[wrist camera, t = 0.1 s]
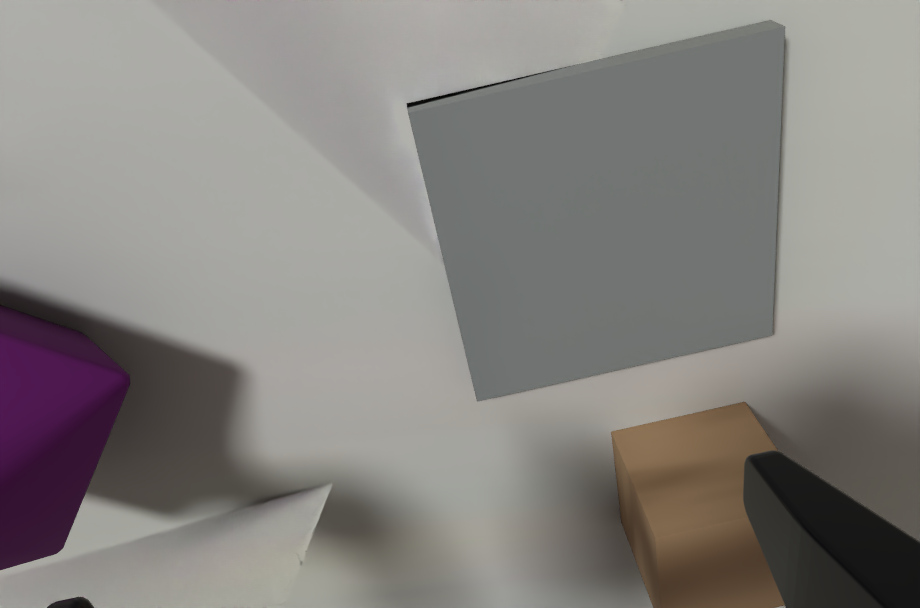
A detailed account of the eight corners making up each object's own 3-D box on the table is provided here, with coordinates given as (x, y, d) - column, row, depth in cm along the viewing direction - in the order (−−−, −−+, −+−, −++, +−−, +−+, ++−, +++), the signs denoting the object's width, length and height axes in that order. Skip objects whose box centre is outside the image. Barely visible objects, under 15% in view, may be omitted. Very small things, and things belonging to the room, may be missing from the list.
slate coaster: (761, 322, 25) (772, 335, 25) (474, 386, 25) (477, 401, 25) (770, 20, 20) (784, 26, 19) (406, 103, 20) (408, 112, 19)
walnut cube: (742, 493, 30) (804, 600, 26) (620, 520, 30) (662, 631, 26) (743, 400, 27) (813, 502, 23) (610, 430, 27) (655, 537, 23)
